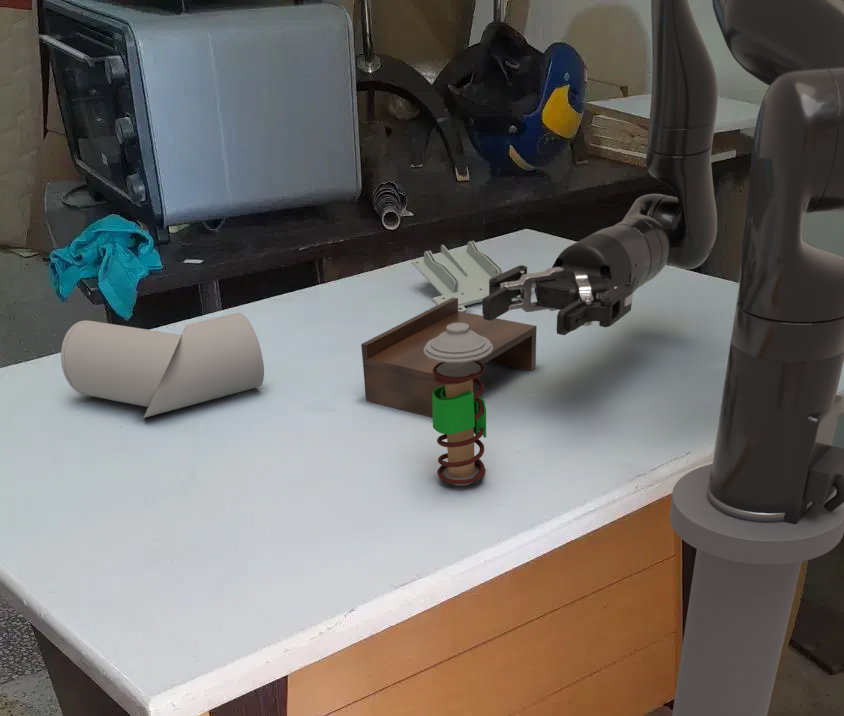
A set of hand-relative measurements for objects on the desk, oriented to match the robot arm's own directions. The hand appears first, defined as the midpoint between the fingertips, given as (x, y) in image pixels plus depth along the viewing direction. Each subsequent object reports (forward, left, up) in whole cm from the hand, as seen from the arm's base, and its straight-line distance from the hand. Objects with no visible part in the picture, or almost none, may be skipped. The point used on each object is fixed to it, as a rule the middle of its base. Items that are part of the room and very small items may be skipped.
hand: (522, 317), depth 99 cm
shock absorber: (0, +11, -13) cm, 17 cm away
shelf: (+15, -9, -12) cm, 21 cm away
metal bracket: (+33, -38, -13) cm, 52 cm away
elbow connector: (+43, +11, -13) cm, 46 cm away
